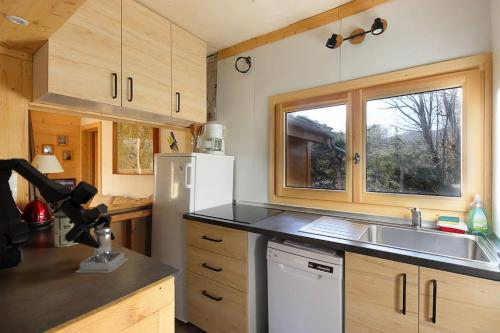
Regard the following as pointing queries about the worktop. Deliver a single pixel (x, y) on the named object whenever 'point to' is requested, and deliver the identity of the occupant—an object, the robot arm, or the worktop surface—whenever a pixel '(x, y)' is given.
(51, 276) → the worktop surface
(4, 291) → the worktop surface
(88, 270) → the collar
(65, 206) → the robot arm
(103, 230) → the lidded steel tumbler
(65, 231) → the coffee can
